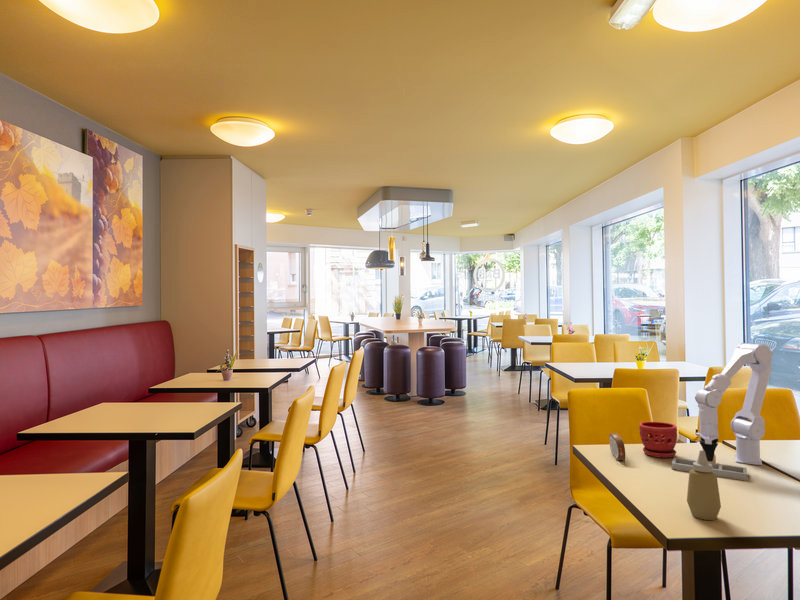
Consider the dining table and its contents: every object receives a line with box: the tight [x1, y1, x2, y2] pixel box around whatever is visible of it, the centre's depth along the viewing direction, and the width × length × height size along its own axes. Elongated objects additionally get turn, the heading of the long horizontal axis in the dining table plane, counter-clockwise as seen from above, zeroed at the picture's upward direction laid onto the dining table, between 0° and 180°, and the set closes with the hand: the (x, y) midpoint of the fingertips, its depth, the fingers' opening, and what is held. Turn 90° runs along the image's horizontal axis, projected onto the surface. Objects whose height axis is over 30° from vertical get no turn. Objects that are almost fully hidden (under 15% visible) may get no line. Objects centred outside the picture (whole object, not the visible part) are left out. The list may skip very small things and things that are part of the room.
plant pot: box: [638, 421, 678, 459], centre depth 190 cm, size 13×13×12 cm
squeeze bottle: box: [686, 449, 722, 521], centre depth 133 cm, size 8×8×18 cm
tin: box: [608, 432, 627, 461], centre depth 187 cm, size 15×3×8 cm, turn 168°
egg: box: [707, 453, 717, 464], centre depth 179 cm, size 4×4×4 cm
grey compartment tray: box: [671, 457, 748, 482], centre depth 170 cm, size 8×22×2 cm, turn 56°
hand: (709, 459), depth 179 cm, fingers closed on egg, 4 cm apart
